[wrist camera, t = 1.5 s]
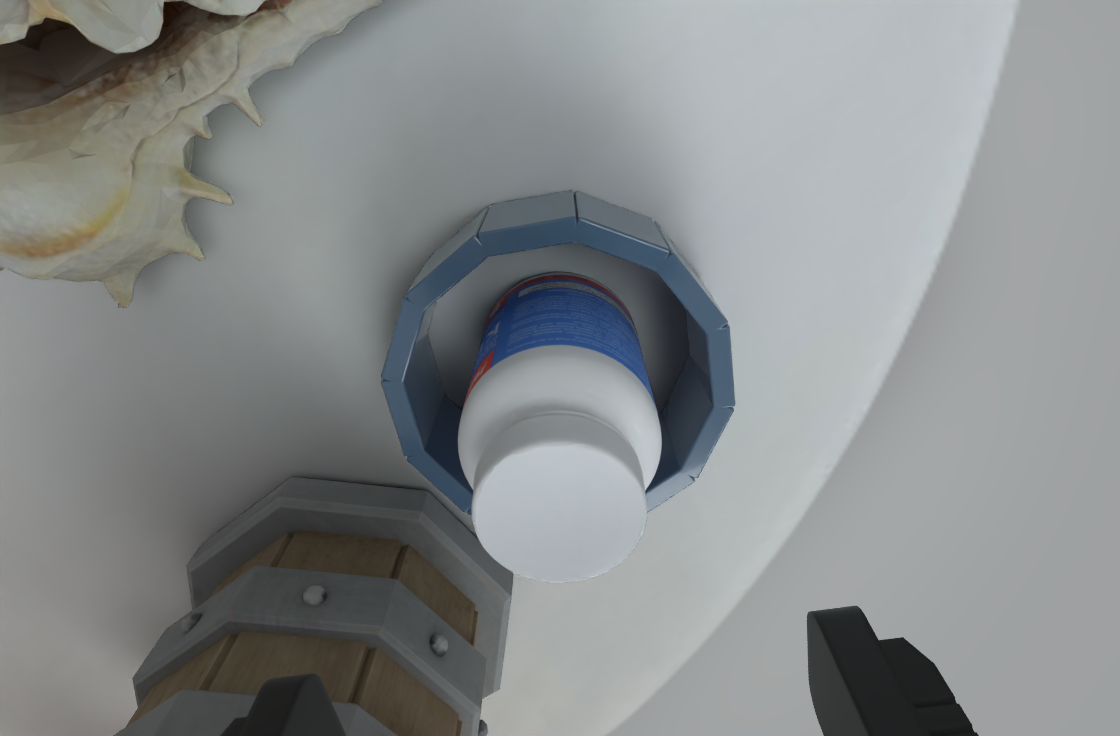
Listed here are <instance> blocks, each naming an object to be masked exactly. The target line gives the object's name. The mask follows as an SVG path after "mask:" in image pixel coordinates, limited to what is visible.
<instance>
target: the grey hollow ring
mask: <svg viewBox="0 0 1120 736" xmlns="http://www.w3.org/2000/svg"><path fill="white" fill-rule="evenodd" d="M572 242H577V243H580V244H582V245H585V246H588V247H591V248H593V249H596V250H599V251H602V252H604V253H607V254H610V255H613V256H615V257H618V258H621V259H624V260H627V261H629V262H632V263H635V264H638V265H640V266H643V267H646V268H649V269H651V270H654V271H656V272H657V273H658V274H659V276H660V277H661V278H662V279H663V281H664V282H665V283H666V284H667V286H668V287H669V288H670V289H671V291H672V292H673V293H674V294H675V296H676V297H677V298H678V299H679V301H680V302H681V303H682V304H683V306H684V307H685V312H686V321H687V331H688V341H689V351H690V356H689V358H688V360H687V362H686V364H685V366H684V368H683V370H682V372H681V374H680V376H679V378H678V380H677V382H676V384H675V387H674V389H673V391H672V393H671V395H670V397H669V399H668V401H667V403H666V405H665V407H664V409H663V411H661V412H660V413H658V418H659V423H660V428H661V438H662V447H661V455H660V460H659V464H658V468H657V470H656V473H655V475H654V477H653V479H652V481H651V483H650V485H649V486H648V487H647V489H646V490H645V494H646V501H647V513H648V512H649V511H651V510H652V509H654V508H655V507H657V506H658V505H660V504H661V503H663V502H664V501H666V500H667V499H669V498H671V497H672V496H674V495H675V494H677V493H678V492H680V491H681V490H683V489H684V488H686V487H687V486H689V485H690V484H692V483H693V482H695V479H694V478H698V476H699V475H700V473H701V471H702V469H703V467H704V465H705V463H706V462H707V460H708V458H709V456H710V454H711V452H712V450H713V449H714V447H715V445H716V443H717V441H718V439H719V437H720V436H721V434H722V432H723V430H724V428H725V426H726V424H727V422H728V421H729V419H730V417H731V415H732V413H733V411H734V408H733V407H734V406H735V393H734V380H733V366H732V352H731V339H730V327H729V325H728V324H727V323H728V321H727V319H726V318H725V316H724V315H723V313H722V311H721V310H720V308H719V307H718V305H717V304H716V302H715V300H714V299H713V297H712V296H711V294H710V293H709V291H708V289H707V288H706V286H705V285H704V283H703V281H702V280H701V279H700V277H699V276H698V275H697V273H696V272H695V271H694V270H693V268H692V267H691V266H690V264H689V263H688V262H687V261H686V259H685V258H684V257H683V255H682V254H681V253H680V252H679V250H678V249H677V248H676V246H675V245H674V244H673V243H672V241H671V240H670V239H669V237H668V236H667V235H666V234H665V232H664V231H663V230H662V228H661V227H660V226H659V225H658V223H657V222H656V221H654V222H653V220H652V219H651V218H649V217H647V216H644V215H641V214H639V213H636V212H633V211H630V210H628V209H625V208H622V207H620V206H617V205H614V204H612V203H609V202H606V201H604V200H601V199H598V198H596V197H593V196H590V195H588V194H585V193H582V192H580V191H576V192H575V193H574V192H573V190H568V191H563V192H557V193H551V194H546V195H540V196H534V197H529V198H523V199H518V200H512V201H506V202H501V203H495V204H492V205H491V206H490V207H489V206H488V207H486V208H485V209H484V210H482V211H481V212H480V213H479V214H478V215H477V216H476V217H474V218H473V219H472V220H471V221H470V222H469V223H468V224H467V225H465V226H464V227H463V228H462V229H461V230H460V231H459V232H457V233H456V234H455V235H454V236H453V237H452V238H451V239H449V240H448V241H447V242H446V243H445V244H444V245H443V246H441V247H440V248H439V249H438V250H437V251H436V252H435V253H433V254H432V255H431V256H430V257H429V259H428V260H427V262H426V263H425V265H424V267H423V268H422V270H421V271H420V273H419V274H418V276H417V277H416V279H415V281H414V282H413V284H412V285H411V287H410V288H409V290H408V291H407V293H406V295H405V296H404V298H403V300H402V303H401V306H400V310H399V313H398V317H397V321H396V324H395V328H394V331H393V335H392V338H391V342H390V345H389V349H388V352H387V356H386V360H385V363H384V367H383V370H382V374H381V378H382V381H381V384H382V388H383V391H384V394H385V397H386V400H387V403H388V406H389V410H390V413H391V416H392V419H393V422H394V425H395V428H396V432H397V435H398V438H399V441H400V444H401V447H402V450H403V454H404V456H408V457H407V461H408V462H409V463H410V464H412V465H413V466H414V467H415V468H416V469H417V470H418V471H419V472H420V473H421V474H423V475H424V476H425V477H426V478H427V479H428V480H429V481H430V482H431V483H432V484H433V485H435V486H436V487H437V488H438V489H439V490H440V491H441V492H442V493H443V494H444V495H446V496H447V497H448V498H449V499H450V500H451V501H452V502H453V503H454V504H455V505H457V506H458V507H459V508H460V509H461V510H462V511H463V512H466V511H467V510H468V514H469V515H472V507H471V505H472V498H473V489H472V488H471V486H470V484H469V482H468V480H467V479H466V477H465V474H464V472H463V469H462V466H461V462H460V458H459V453H458V431H459V424H460V419H461V415H462V411H461V410H460V409H459V408H458V407H457V406H456V405H455V404H454V403H453V402H452V401H451V400H450V399H449V398H448V397H447V396H446V395H445V394H444V392H443V389H442V385H441V382H440V378H439V374H438V371H437V367H436V364H435V360H434V356H433V353H432V349H431V346H430V342H429V338H428V335H427V332H428V329H429V325H430V322H431V319H432V316H433V312H434V309H435V306H436V302H437V300H438V299H439V298H440V297H441V296H443V295H444V294H445V293H446V292H447V291H448V290H450V289H451V288H452V287H453V286H454V285H456V284H457V283H458V282H459V281H460V280H461V279H463V278H464V277H465V276H466V275H467V274H469V273H470V272H471V271H472V270H473V269H474V268H476V267H477V266H478V265H479V264H480V263H481V262H483V261H484V260H485V259H486V258H487V257H490V256H496V255H502V254H508V253H513V252H519V251H525V250H531V249H537V248H543V247H548V246H554V245H560V244H566V243H572Z"/></svg>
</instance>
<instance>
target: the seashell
mask: <svg viewBox="0 0 1120 736" xmlns="http://www.w3.org/2000/svg"><path fill="white" fill-rule="evenodd" d="M382 1H383V0H0V270H3V269H5V268H6V269H8V270H11V271H13V272H15V273H17V274H19V275H21V276H24V277H26V278H30V279H42V280H48V279H51V278H54V279H61V280H68V281H75V282H85V281H95V280H98V281H101V282H103V283H104V285H105V287H106V288H107V290H108V292H109V293H110V295H111V296H112V297H113V299H114V300H115V301H116V302H118V308H127V306H128V305H129V304H130V302H131V301H132V296H133V286H134V284H135V282H136V279H137V277H138V275H139V273H140V271H141V270H142V269H143V268H144V267H145V266H146V265H147V264H149V263H151V262H153V261H154V260H156V259H158V258H160V257H163V256H166V255H169V254H172V253H185V254H187V255H189V256H192V257H194V258H196V259H197V260H198V261H201V260H204V259H206V258H205V255H204V253H203V250H202V248H201V247H200V246H199V245H198V244H197V243H196V241H195V240H194V238H193V236H192V234H191V232H190V231H189V229H188V227H187V225H186V215H185V207H186V204H187V202H188V200H190V199H191V198H193V197H201V198H205V199H209V200H213V201H217V202H220V203H223V204H226V205H229V206H231V205H232V204H233V201H232V198H231V196H230V194H229V193H227V192H226V191H224V190H223V189H222V188H220V187H218V186H216V185H214V184H211V183H209V182H207V181H205V180H202V179H200V178H199V177H197V176H196V175H194V174H193V173H191V172H190V167H191V161H192V155H193V149H194V143H195V135H198V136H200V137H203V138H206V139H208V140H209V139H210V138H212V137H213V136H212V133H211V131H210V128H209V126H208V117H207V115H208V114H209V113H211V112H212V111H213V110H214V109H215V108H216V107H218V106H220V105H222V104H231V103H233V104H234V105H236V106H237V107H238V108H239V109H240V110H241V111H242V112H244V113H245V114H246V115H247V116H248V117H249V118H250V119H252V120H253V121H254V122H255V123H256V124H257V125H258V126H259V127H261V125H262V124H263V122H264V119H263V117H262V115H261V114H260V112H259V111H258V109H257V108H256V106H255V104H254V103H253V101H252V100H251V98H250V95H249V93H248V90H247V89H248V88H249V87H250V86H251V84H252V83H253V82H254V81H255V80H257V79H258V78H259V77H261V76H262V75H263V74H264V73H266V72H269V71H273V70H277V69H281V68H285V67H292V66H293V64H294V62H295V61H296V59H297V57H298V56H299V55H300V54H301V53H302V52H303V51H305V50H306V49H307V48H308V47H309V46H310V45H312V44H313V43H315V42H316V41H318V40H319V39H320V38H325V37H330V36H333V35H337V34H340V33H341V32H342V31H343V29H344V28H345V26H346V25H347V23H348V22H349V21H351V20H352V19H353V18H355V17H356V16H357V15H359V14H360V13H362V12H363V11H365V10H367V9H371V8H375V7H378V6H379V5H380V3H381V2H382Z"/></svg>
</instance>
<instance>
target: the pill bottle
mask: <svg viewBox="0 0 1120 736" xmlns="http://www.w3.org/2000/svg"><path fill="white" fill-rule="evenodd" d="M661 447H662V438H661V428H660V423H659V418H658V413H657V409H656V405H655V402H654V398H653V394H652V391H651V387H650V383H649V379H648V376H647V372H646V368H645V364H644V360H643V356H642V352H641V348H640V344H639V339H638V336H637V332H636V329H635V325H634V323H633V321H632V318H631V316H630V314H629V312H628V310H627V309H626V307H625V306H624V304H623V303H622V302H621V300H620V299H619V298H618V297H617V296H616V295H615V294H614V293H613V292H612V291H611V290H610V289H608V288H607V287H605V286H604V285H602V284H601V283H599V282H597V281H595V280H593V279H591V278H588V277H585V276H582V275H578V274H573V273H564V272H555V273H546V274H541V275H537V276H534V277H531V278H529V279H527V280H525V281H522V282H521V283H519V284H517V285H516V286H514V287H513V288H512V289H510V290H509V291H508V292H507V293H506V294H505V295H504V296H503V297H502V298H501V299H500V300H499V301H498V303H497V304H496V305H495V307H494V308H493V310H492V312H491V314H490V316H489V318H488V320H487V323H486V325H485V328H484V332H483V335H482V339H481V343H480V347H479V351H478V355H477V359H476V363H475V366H474V370H473V374H472V378H471V381H470V385H469V389H468V392H467V396H466V400H465V403H464V407H463V411H462V415H461V419H460V424H459V431H458V453H459V458H460V462H461V466H462V469H463V472H464V474H465V477H466V479H467V480H468V482H469V484H470V486H471V488H472V489H473V498H472V505H471V507H472V522H473V525H474V529H475V532H476V534H477V537H478V539H479V541H480V543H481V544H482V546H483V547H484V549H485V550H486V551H487V552H488V553H489V555H490V556H491V557H492V558H493V559H495V560H496V561H497V562H498V563H500V564H501V565H502V566H504V567H505V568H507V569H508V570H510V571H512V572H514V573H516V574H518V575H521V576H523V577H526V578H529V579H533V580H537V581H542V582H552V583H568V582H575V581H581V580H586V579H589V578H592V577H595V576H598V575H600V574H603V573H605V572H607V571H608V570H610V569H612V568H613V567H615V566H616V565H618V564H619V563H620V562H622V561H623V560H624V559H625V558H626V557H627V556H628V555H629V554H630V553H631V552H632V550H633V549H634V548H635V546H636V545H637V544H638V542H639V540H640V538H641V536H642V533H643V531H644V528H645V524H646V519H647V501H646V494H645V490H646V489H647V487H648V486H649V485H650V483H651V481H652V479H653V477H654V475H655V473H656V470H657V468H658V464H659V460H660V455H661Z"/></svg>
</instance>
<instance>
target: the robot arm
mask: <svg viewBox="0 0 1120 736" xmlns="http://www.w3.org/2000/svg"><path fill="white" fill-rule="evenodd" d="M807 636H808V637H807V638H808V673H809V685H810V692H811V696H812V701H813V705H814V708H815V712H816V715H817V719H818V721H819V724H820V727H821V729H822V732H823V735H824V736H978V734H977V733H975V732H974V731H973V728H972V724H971V723H970V721H969V719H968V718H967V716H966V714H965V713H964V711H963V710H962V708H961V707H960V705H959V704H957V703H956V701H955V697H954V695H953V693H952V692H951V690H950V689H949V687H948V685H947V684H946V682H945V680H944V679H943V677H942V675H941V674H940V672H939V671H938V669H937V667H936V666H935V664H934V663H933V662H931V661H930V660H929V659H928V658H927V657H926V656H924V655H923V654H922V653H921V652H920V651H918V650H917V649H916V648H915V647H914V646H913V645H911V644H910V643H909V642H908V641H907V640H905V639H904V638H903V637H902V638H894V639H886V640H878V638H877V637H876V635H875V633H874V631H873V629H872V627H871V626H870V624H869V622H868V620H867V618H866V616H865V615H864V613H863V612H862V610H861V609H860V608H859V607H858V606H850V607H842V608H834V609H826V610H818V611H811V612H808V615H807ZM220 736H346V734H345V731H344V729H343V727H342V725H341V722H340V720H339V718H338V716H337V714H336V711H335V709H334V707H333V705H332V703H331V700H330V698H329V696H328V694H327V692H326V689H325V687H324V685H323V683H322V681H321V679H320V677H319V676H318V675H317V674H314V673H312V674H304V675H296V676H289V677H281V678H273V679H269V680H267V681H266V682H265V683H264V684H263V685H262V687H261V689H260V690H259V692H258V694H257V697H256V699H255V701H254V703H253V705H252V707H251V709H250V711H249V713H248V715H247V717H241V718H235V719H234V720H233V721H232V722H231V724H230V725H229V726H228V727H227V728H226V729H225V730H224V732H223V733H222V734H221V735H220Z"/></svg>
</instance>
